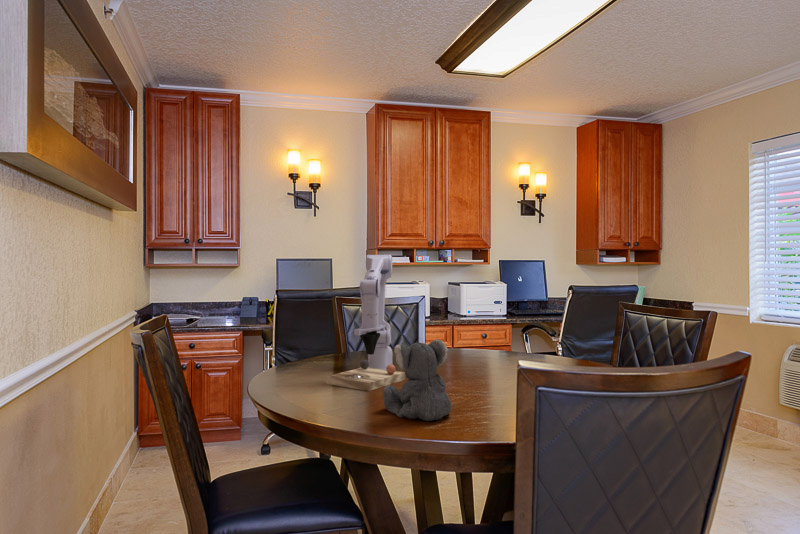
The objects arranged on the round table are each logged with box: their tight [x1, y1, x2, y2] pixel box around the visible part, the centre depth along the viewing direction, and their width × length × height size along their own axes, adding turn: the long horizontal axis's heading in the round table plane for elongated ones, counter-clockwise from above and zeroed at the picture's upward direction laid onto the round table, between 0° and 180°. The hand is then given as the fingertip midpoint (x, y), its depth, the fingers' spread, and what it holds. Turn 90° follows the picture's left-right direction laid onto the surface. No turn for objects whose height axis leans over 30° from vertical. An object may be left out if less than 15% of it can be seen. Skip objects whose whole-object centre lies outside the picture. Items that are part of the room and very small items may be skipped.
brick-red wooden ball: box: [386, 363, 397, 374], centre depth 176 cm, size 3×3×3 cm
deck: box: [326, 367, 406, 392], centre depth 176 cm, size 20×18×2 cm
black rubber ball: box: [359, 359, 369, 369], centre depth 185 cm, size 3×3×3 cm
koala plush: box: [382, 338, 452, 422], centre depth 137 cm, size 17×18×20 cm
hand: (370, 354), depth 178 cm, fingers closed
